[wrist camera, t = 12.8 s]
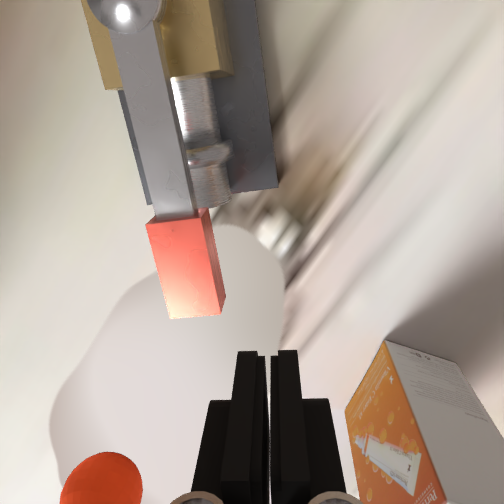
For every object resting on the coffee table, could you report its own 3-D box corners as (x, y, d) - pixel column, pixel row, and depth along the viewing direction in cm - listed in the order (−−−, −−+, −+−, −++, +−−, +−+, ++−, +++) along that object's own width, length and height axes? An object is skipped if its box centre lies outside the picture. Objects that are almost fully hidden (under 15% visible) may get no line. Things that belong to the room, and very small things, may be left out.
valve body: (278, 184, 26) (275, 219, 19) (152, 201, 27) (101, 240, 20) (226, -220, 19) (188, -426, 11) (57, -173, 20) (-79, -332, 12)
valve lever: (177, 301, 21) (168, 318, 19) (92, -35, 15) (69, -51, 14) (227, 296, 21) (222, 314, 19) (159, -50, 15) (143, -68, 13)
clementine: (87, 488, 39) (48, 567, 33) (63, 438, 37) (15, 512, 30) (161, 483, 38) (135, 564, 32) (140, 432, 36) (108, 507, 29)
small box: (382, 337, 30) (448, 500, 18) (457, 361, 30) (572, 539, 18) (341, 411, 33) (373, 593, 21) (409, 433, 33) (480, 624, 21)
